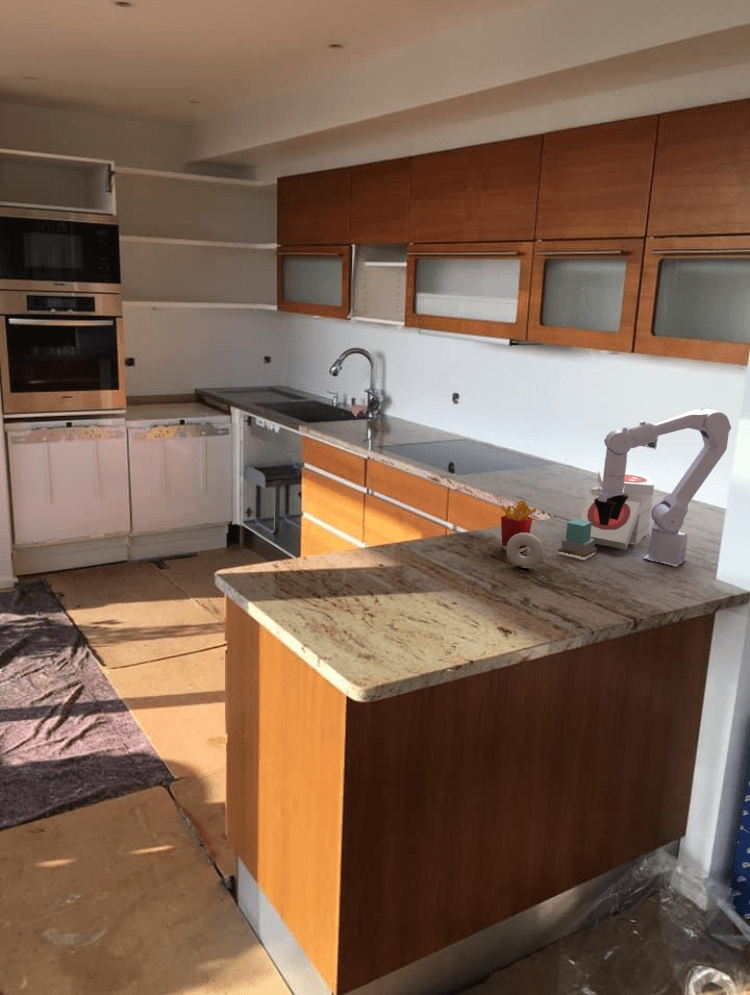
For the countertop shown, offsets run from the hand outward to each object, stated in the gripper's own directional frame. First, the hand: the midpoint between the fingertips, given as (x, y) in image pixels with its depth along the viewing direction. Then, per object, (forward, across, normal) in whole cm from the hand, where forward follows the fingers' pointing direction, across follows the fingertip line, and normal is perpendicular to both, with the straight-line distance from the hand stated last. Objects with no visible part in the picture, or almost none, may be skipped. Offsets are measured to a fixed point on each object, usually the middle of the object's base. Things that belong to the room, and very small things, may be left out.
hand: (609, 521), depth 234 cm
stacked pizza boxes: (+11, -19, -5) cm, 22 cm away
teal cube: (+6, +3, -7) cm, 10 cm away
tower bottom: (+11, +3, -7) cm, 14 cm away
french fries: (+10, +12, -21) cm, 26 cm away
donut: (+10, +25, -13) cm, 30 cm away
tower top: (+8, +3, -7) cm, 11 cm away
